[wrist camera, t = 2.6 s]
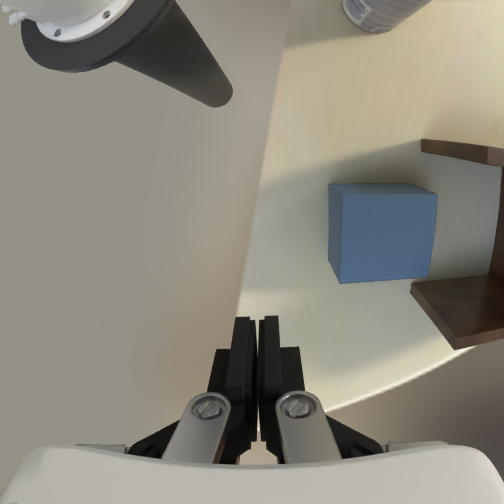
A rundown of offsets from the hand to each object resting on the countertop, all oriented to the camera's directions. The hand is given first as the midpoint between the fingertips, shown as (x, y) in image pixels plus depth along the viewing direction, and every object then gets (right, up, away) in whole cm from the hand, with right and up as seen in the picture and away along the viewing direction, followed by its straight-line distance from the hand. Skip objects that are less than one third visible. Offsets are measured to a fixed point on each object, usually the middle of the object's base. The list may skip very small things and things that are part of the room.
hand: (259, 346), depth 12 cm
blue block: (+10, +7, +15) cm, 19 cm away
